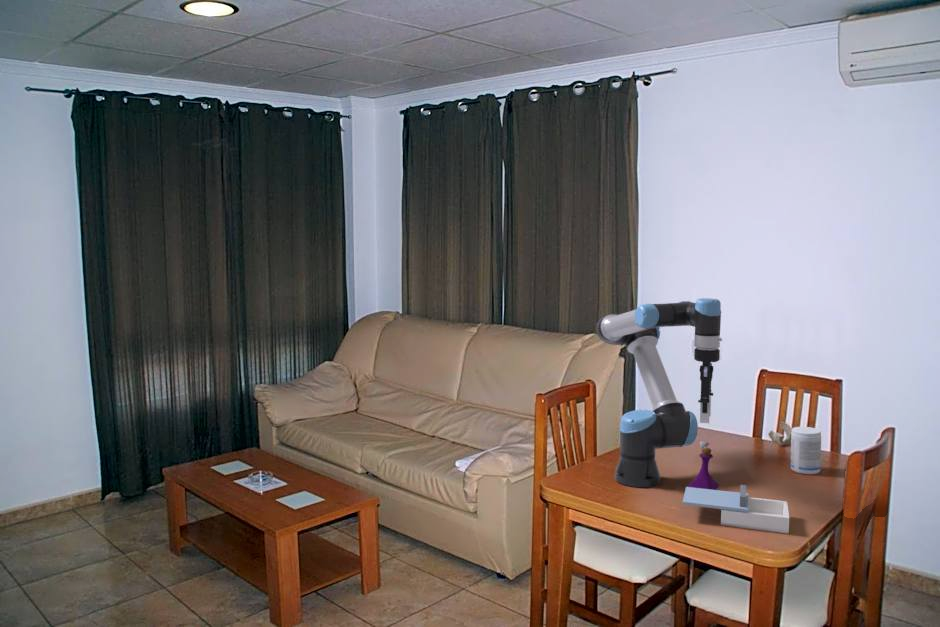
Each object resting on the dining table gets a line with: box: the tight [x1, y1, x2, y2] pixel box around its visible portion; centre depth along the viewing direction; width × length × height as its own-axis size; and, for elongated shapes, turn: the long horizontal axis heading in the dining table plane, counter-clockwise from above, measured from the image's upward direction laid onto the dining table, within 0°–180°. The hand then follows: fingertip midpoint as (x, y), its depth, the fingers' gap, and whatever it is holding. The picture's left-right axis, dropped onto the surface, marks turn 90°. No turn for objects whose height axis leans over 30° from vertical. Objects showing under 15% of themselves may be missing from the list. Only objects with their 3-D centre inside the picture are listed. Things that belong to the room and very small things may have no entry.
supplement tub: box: [790, 426, 822, 475], centre depth 252 cm, size 10×10×15 cm
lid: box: [682, 484, 749, 512], centre depth 214 cm, size 18×13×4 cm
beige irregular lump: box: [768, 421, 792, 447], centre depth 283 cm, size 9×6×10 cm
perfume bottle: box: [687, 441, 720, 490], centre depth 230 cm, size 8×8×18 cm
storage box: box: [720, 496, 790, 534], centre depth 211 cm, size 18×13×4 cm
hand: (705, 419), depth 228 cm, fingers open, 8 cm apart
